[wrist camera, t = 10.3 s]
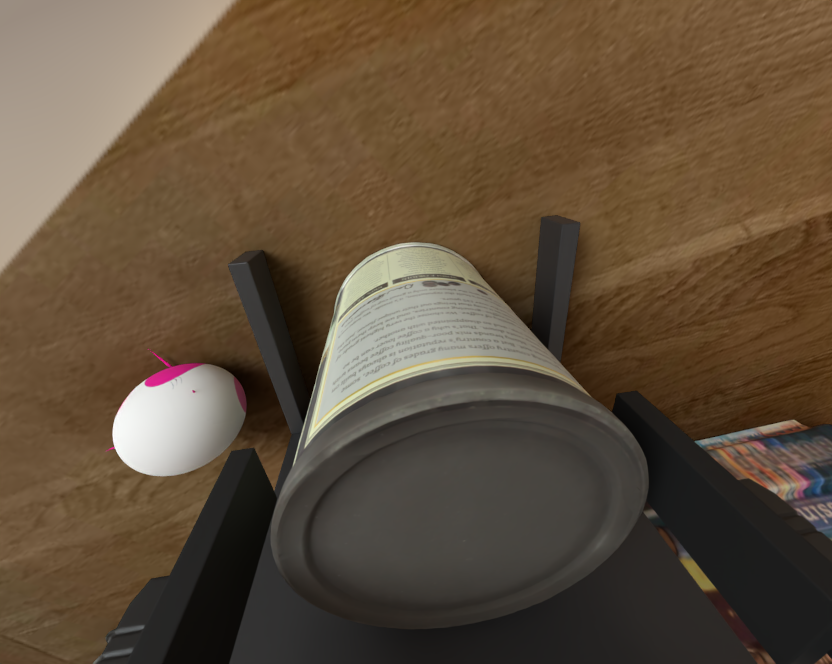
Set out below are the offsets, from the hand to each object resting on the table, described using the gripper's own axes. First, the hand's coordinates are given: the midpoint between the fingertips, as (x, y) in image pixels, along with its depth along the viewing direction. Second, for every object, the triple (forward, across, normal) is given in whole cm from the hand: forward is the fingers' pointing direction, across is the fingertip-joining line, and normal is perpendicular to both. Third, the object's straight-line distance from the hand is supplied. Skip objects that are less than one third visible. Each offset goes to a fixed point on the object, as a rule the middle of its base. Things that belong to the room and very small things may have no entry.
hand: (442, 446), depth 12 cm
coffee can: (+11, 0, 0) cm, 11 cm away
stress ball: (+11, -15, -2) cm, 18 cm away
